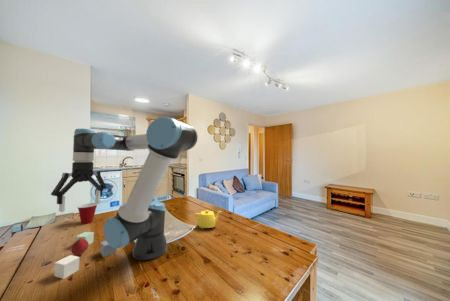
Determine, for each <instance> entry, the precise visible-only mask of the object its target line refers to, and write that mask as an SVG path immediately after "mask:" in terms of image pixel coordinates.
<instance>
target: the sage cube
mask: <svg viewBox="0 0 450 301" xmlns="http://www.w3.org/2000/svg"><path fill="white" fill-rule="evenodd" d="M80 237H83V239H85V240H87V241H88V244H89V245H91V244H92V243H94V238H95V232H94V231H84V232H81V233H80V234H77V235H76V236H75V242H76V241H77V240H78V239H79V238H80ZM75 242H74V243H75Z"/></svg>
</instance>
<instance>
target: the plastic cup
mask: <svg viewBox="0 0 450 301" xmlns="http://www.w3.org/2000/svg"><path fill="white" fill-rule="evenodd" d="M97 206H98V204H95V202H90V203H84V204H80V205H77V207H76V208H77V210H78V214H79V219H80V223H81V225H89V224H92V223H93V221H94V218H95V214H96V211H97V210H96V209H97Z"/></svg>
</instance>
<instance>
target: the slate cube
mask: <svg viewBox="0 0 450 301" xmlns="http://www.w3.org/2000/svg"><path fill="white" fill-rule="evenodd" d="M99 249H100V250H99V251H100V252H99V253H100V256H102V258H105V257H108V256H111V255H113V254H116V253H117V248H114V247H112V246H110V245H109V244H108V242H107V241H106V240H103V241H101V242H100V248H99Z"/></svg>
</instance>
